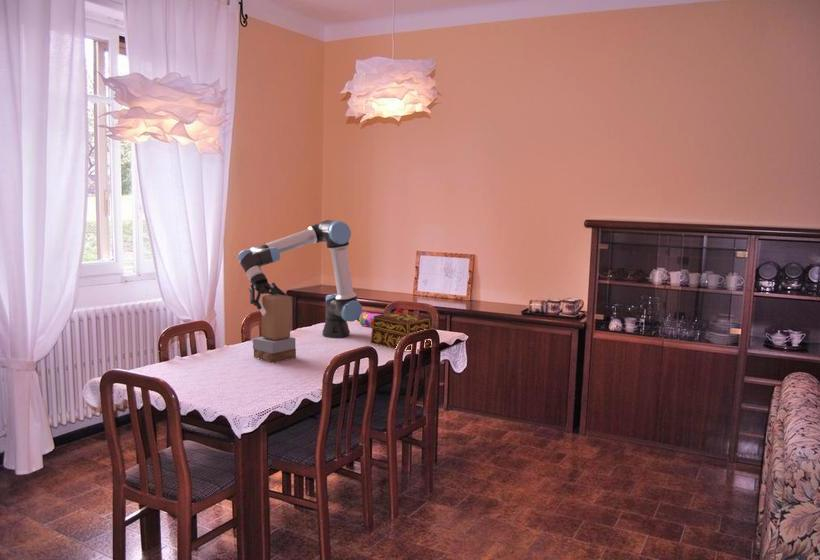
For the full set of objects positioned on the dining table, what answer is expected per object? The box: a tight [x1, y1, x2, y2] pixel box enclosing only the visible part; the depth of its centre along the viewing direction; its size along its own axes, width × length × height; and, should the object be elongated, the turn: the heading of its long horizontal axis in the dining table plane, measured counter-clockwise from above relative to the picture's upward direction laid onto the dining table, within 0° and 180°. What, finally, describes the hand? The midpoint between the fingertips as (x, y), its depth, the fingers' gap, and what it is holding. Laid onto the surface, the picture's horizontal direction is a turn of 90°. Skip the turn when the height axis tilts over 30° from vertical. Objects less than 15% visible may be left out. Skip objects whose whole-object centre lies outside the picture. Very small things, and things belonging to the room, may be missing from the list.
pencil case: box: [356, 310, 383, 328], centre depth 390 cm, size 22×9×9 cm, turn 50°
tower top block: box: [252, 336, 296, 353], centre depth 312 cm, size 14×14×5 cm
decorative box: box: [370, 312, 432, 350], centre depth 345 cm, size 28×19×15 cm
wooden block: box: [261, 294, 292, 340], centre depth 311 cm, size 10×10×20 cm
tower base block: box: [253, 347, 297, 364], centre depth 313 cm, size 14×14×5 cm
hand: (276, 312), depth 310 cm, fingers open, 13 cm apart
